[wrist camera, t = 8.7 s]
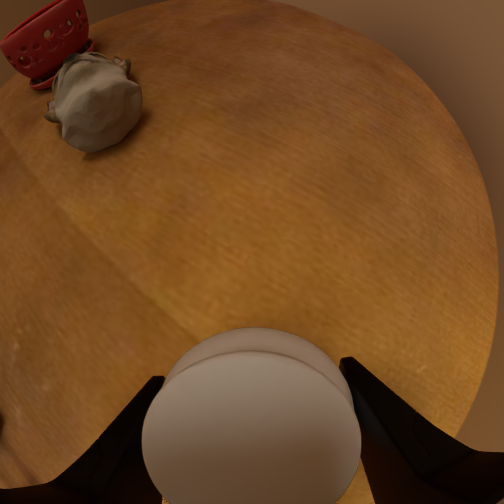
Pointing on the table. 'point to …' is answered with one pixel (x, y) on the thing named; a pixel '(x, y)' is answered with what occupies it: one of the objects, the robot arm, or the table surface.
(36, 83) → the flower pot
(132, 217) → the table surface
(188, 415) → the pill bottle
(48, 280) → the table surface
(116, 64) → the ceramic sculpture
